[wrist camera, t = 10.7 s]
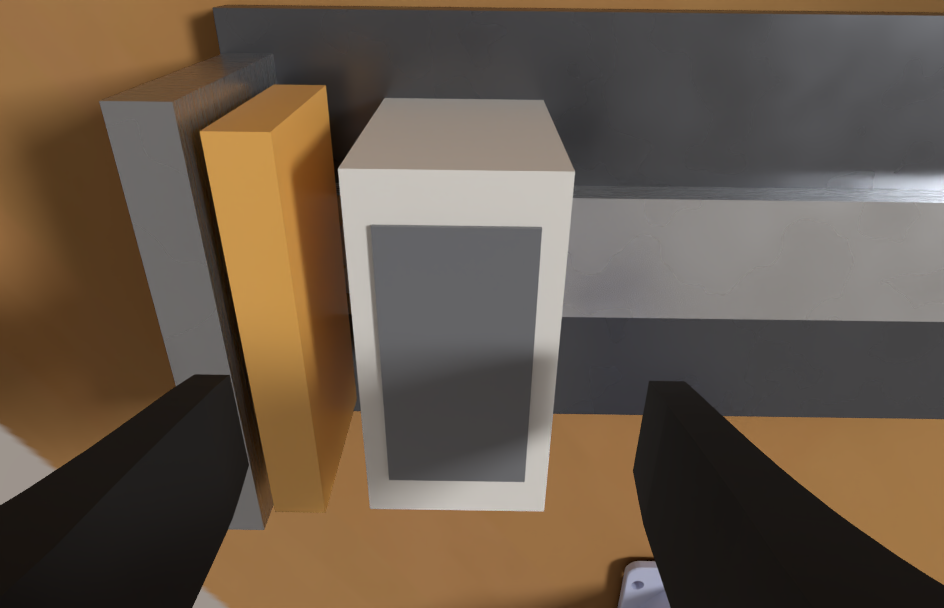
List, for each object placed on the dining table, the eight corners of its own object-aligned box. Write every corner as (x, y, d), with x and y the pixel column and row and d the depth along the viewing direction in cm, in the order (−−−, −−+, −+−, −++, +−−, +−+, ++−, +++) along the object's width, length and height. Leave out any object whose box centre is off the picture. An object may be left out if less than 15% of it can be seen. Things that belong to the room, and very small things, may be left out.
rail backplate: (933, 400, 22) (1106, 570, 16) (289, 391, 22) (218, 557, 16) (1108, 14, 16) (1493, 50, 10) (227, 4, 16) (74, 35, 10)
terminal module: (526, 363, 20) (544, 514, 14) (399, 361, 20) (369, 512, 14) (543, 100, 16) (576, 173, 11) (384, 97, 16) (337, 170, 11)
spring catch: (357, 398, 19) (325, 512, 15) (316, 398, 19) (275, 512, 15) (325, 85, 14) (270, 132, 11) (273, 84, 14) (199, 131, 11)
